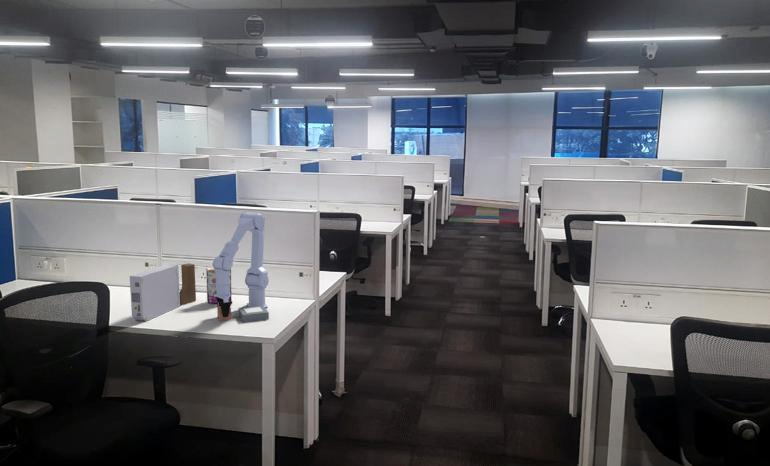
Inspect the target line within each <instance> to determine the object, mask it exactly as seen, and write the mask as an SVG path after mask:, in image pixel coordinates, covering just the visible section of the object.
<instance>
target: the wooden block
mask: <svg viewBox="0 0 770 466" xmlns="http://www.w3.org/2000/svg"><path fill="white" fill-rule="evenodd" d="M180 265H181V270H180V271H181V289H180V290H179V292H180V306H183V305H186V304H190V303H193V302H196V301H197V293H196V292H197V289H196V269H195V265H196V264H194V263H184V264H180Z"/></svg>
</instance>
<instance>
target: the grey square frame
mask: <svg viewBox="0 0 770 466" xmlns="http://www.w3.org/2000/svg"><path fill="white" fill-rule="evenodd" d="M237 309H238V316H239V318H240V319H241V321H242V322H243V323H245V322H255V321H263V320H269V319H270V318H269V317H270V313H269V311H268V310H267V308H265V307H264V306H258V307H248V306H247V307H239V308H237Z"/></svg>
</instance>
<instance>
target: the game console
mask: <svg viewBox="0 0 770 466" xmlns="http://www.w3.org/2000/svg"><path fill="white" fill-rule="evenodd" d="M179 273H180V271H179V263H167V264H164V265H161V266H158V267H157V266H156V267H154V268H151V269H148V270H145V271H141V272H138V273H135V274H131V275H129V287H130V303H131V304H130V305H131V307H130V309H131V317H132V318H133V319H134V320H135V321H142V322H148V321H150V320H152V319H153V320H154V319H155V318H157V317H160V316H162V315H164V314H166V313H169V312H171V311H173V310H175V309H178V308H180V307H181V305H180V277H179V276H180V274H179Z"/></svg>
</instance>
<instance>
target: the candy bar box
mask: <svg viewBox="0 0 770 466" xmlns="http://www.w3.org/2000/svg"><path fill="white" fill-rule="evenodd" d="M205 270H206V272H205V274H206V302H207V304H218V302H217V299H216V298H215V297H214V294H217V289H216V273H215V269H214V268H213V267H206V268H205ZM230 293H231V294H232V268H231V269H230ZM229 301H232V302H233V300H232V295H231V296H230V297H229Z"/></svg>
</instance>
